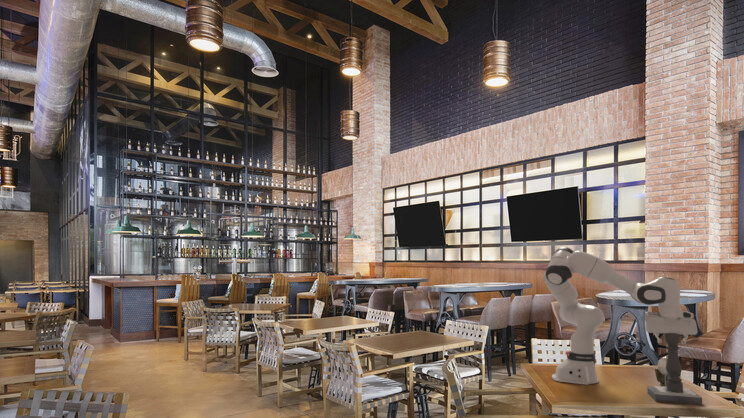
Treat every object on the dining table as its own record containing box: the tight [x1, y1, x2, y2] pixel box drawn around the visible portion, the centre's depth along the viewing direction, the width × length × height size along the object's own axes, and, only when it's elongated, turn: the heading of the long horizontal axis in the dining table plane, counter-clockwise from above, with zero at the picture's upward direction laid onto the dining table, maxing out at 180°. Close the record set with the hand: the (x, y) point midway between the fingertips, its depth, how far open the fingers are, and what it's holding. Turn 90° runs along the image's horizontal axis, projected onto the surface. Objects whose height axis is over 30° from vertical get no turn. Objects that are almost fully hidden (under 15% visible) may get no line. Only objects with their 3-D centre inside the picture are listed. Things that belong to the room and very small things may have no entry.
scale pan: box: [653, 385, 697, 397], centre depth 217 cm, size 14×11×1 cm
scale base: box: [646, 356, 703, 406], centre depth 219 cm, size 18×14×18 cm
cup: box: [654, 367, 665, 386], centre depth 239 cm, size 8×7×8 cm
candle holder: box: [664, 333, 684, 392], centre depth 218 cm, size 6×6×25 cm
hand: (671, 343), depth 219 cm, fingers open, 8 cm apart
